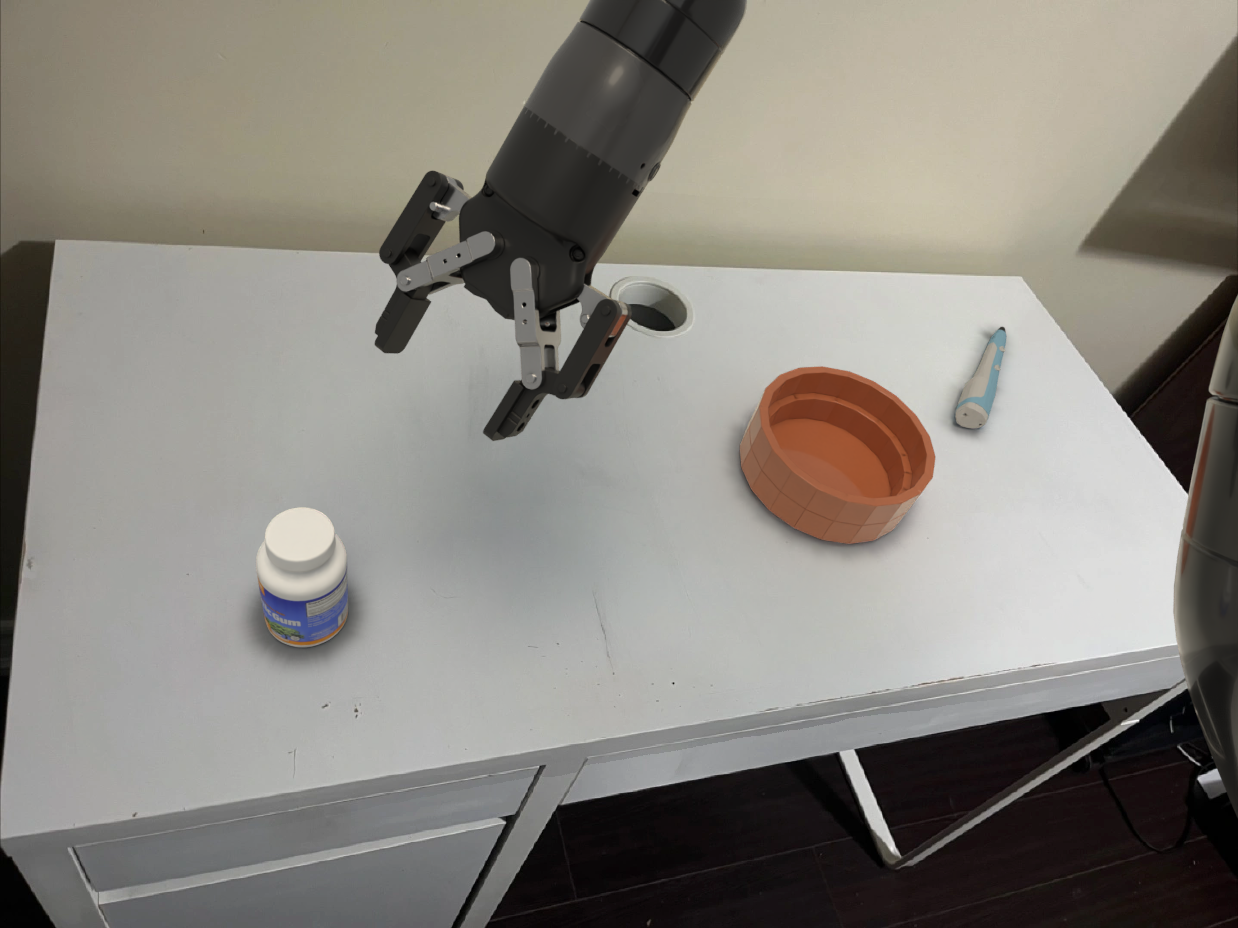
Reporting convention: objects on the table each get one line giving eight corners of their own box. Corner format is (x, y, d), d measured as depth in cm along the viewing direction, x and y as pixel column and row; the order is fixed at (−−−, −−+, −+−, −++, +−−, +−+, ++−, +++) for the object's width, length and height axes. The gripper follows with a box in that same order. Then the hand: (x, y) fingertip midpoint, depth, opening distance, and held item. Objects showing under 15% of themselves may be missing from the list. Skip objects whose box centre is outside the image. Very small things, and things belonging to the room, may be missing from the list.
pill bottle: (248, 611, 58) (229, 528, 51) (315, 566, 61) (307, 482, 54) (299, 665, 56) (287, 588, 49) (366, 616, 60) (364, 536, 52)
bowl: (929, 479, 80) (961, 437, 76) (856, 580, 71) (888, 538, 66) (791, 387, 84) (814, 342, 80) (705, 470, 75) (725, 424, 71)
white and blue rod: (977, 438, 86) (993, 418, 83) (947, 422, 86) (962, 403, 84) (1010, 338, 98) (1024, 319, 96) (984, 325, 98) (998, 305, 96)
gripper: (453, 49, 43) (310, 320, 48) (675, 202, 40) (501, 475, 45) (518, 93, 50) (389, 325, 55) (712, 227, 47) (558, 460, 52)
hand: (440, 392), depth 50 cm, fingers open, 8 cm apart
